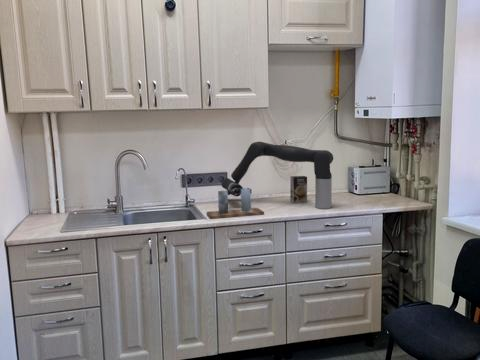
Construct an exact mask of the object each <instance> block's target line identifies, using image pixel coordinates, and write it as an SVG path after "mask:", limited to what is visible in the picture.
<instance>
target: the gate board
mask: <svg viewBox="0 0 480 360" xmlns="http://www.w3.org/2000/svg"><path fill="white" fill-rule="evenodd" d="M217 195H218V197H217V199H218V210H214V211H213V210H212V211H206V216H207V217H208V218H209V219H210V220H215V219H225V218H227V219H228V218H239V217H240V218H241V217H251V216H263V215H265V212H264V211H263V210H262V209H261V208H259V207H251V211H248V212H244V211H242V208H238V209H237V208H236V209H229V198H228V197H229V195H228V191H227V190H219V191H218V192H217Z"/></svg>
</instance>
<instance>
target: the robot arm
mask: <svg viewBox="0 0 480 360" xmlns="http://www.w3.org/2000/svg"><path fill="white" fill-rule="evenodd" d="M259 157H274V158H277V159H278V160H281V161H286V162H292V163H293V162H295V163H305V162H306V163H313V171H314V175H315V181H314V182H315V184H314V185H315V187H314V188H315V189H314V190H315V208H316V209H325V210H326V209H331V208H332V207H333V206H332V202H333V201H332V195H333V194H332V193H333V192H332V191H333V189H332V179H333V177H332V176H333V174H332V172H331V164H332V162H333V161H334V155H333V153H332V152H330V151H329V150H327V149H323V150H322V149H321V150H320V149H309V148H305V147H300V146H295V145H287V144H284V145H283V144H272V143H268V142H264V141H255V142H252V143H251V144H250V145H249V146H248V148H247V150H246V152H245V154H244V156H243V157H242V159H241V161H240V162H239V163H238V165H237V166H236V167H235V169H234V170H233V171H232V173H231V174H230V177H231V179H230V178H229V177H228V178H227V177H226V178H224V179H222V181H221V183H220V184H221V187H222V188H223V189H224V190H225V191H228V196H233V197H241V189H250V195H251V194H252V189H251V188H249V187H246V188H245V187H243V186H242V185H241V184H240V182H241V181H242V179H243V178H244V176H246V174H247V172H248V170H249V168H250V166H251V164H252V163H253V162H254V161H255V160H256V159H257V158H259Z"/></svg>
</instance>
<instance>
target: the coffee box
mask: <svg viewBox="0 0 480 360" xmlns="http://www.w3.org/2000/svg"><path fill="white" fill-rule="evenodd" d="M289 177H290V178H289V179H290V183H289V184H290V185H289V186H290V193H289V194H290V195H289V198H290V202H291V203H293V204H298V203H307V202H308V176H306V175H293V176H292V175H291V176H289Z"/></svg>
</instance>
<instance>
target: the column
mask: <svg viewBox="0 0 480 360" xmlns="http://www.w3.org/2000/svg"><path fill="white" fill-rule="evenodd" d="M250 189H251V188H250ZM250 189H247V188H245V189H241V195H240V203H241V209H242V211H244V212H248V211H251V208H252V205H251V204H252V203H251V202H252V199H251V194H250Z"/></svg>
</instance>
